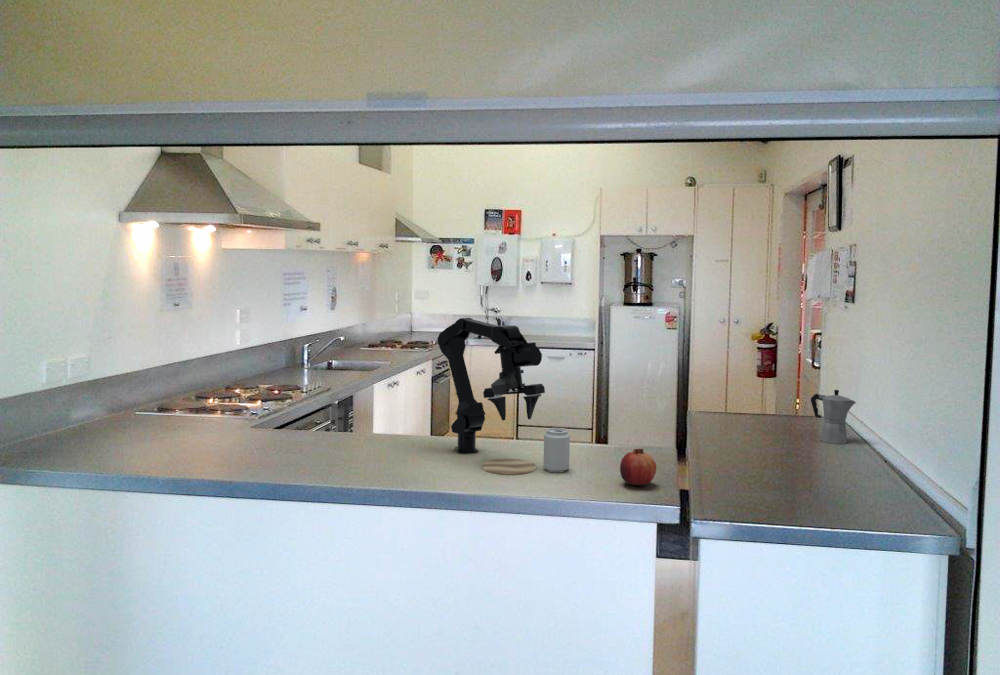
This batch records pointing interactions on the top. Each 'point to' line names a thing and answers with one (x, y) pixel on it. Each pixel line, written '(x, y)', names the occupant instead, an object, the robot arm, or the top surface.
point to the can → (556, 449)
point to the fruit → (637, 468)
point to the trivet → (509, 466)
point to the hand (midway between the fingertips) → (516, 419)
